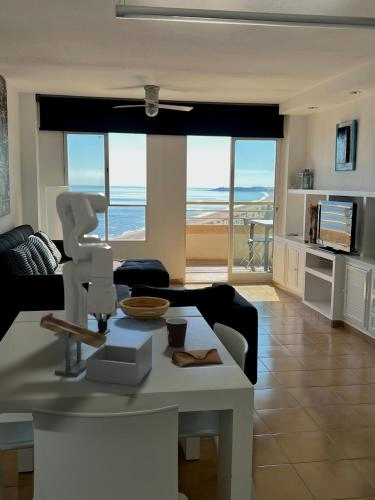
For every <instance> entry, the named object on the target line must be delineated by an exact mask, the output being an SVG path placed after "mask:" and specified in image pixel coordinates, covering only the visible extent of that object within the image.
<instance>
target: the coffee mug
mask: <svg viewBox="0 0 375 500" xmlns="http://www.w3.org/2000/svg"><path fill="white" fill-rule="evenodd" d="M165 325H166V334H167V343H168V346H169V347H170V348H173V347H174V348H175V349H178V348H183V347H185V342H186V336H187V335H186V334H187V329H188V319H186V318H182V317H181V318H180V317H171V318H167V319H166V320H165Z"/></svg>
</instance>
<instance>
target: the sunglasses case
mask: <svg viewBox="0 0 375 500" xmlns="http://www.w3.org/2000/svg"><path fill="white" fill-rule="evenodd" d="M171 361H172V362H173V363H174V364H175V366H177V368H179V369H180V368H186V367H194V366H195V367H197V366H205V365H206V366H207V365H221V364H222V365H223V364H224V362H223V361H222V358H221V356H220V354H219V351H218V349H217V348H211V349H197V350H184V351H182V350H176V351H174V352H172V354H171Z"/></svg>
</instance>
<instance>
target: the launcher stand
mask: <svg viewBox="0 0 375 500" xmlns="http://www.w3.org/2000/svg"><path fill="white" fill-rule="evenodd" d="M78 326H80V327H81V325H78ZM64 341H65V342H64V344H65V345H64V346H65V347H64V353H65V354H64V357H65V358H64V359H65V362H64V363H62V364H61V365H60V366H58V367H57V368H56V369H55V370H54V375H62V376H69V377H78V376H79V375H80V374H81V373H83V372H84V371H86V359H82V342H80V341H77V340H76V358H72V357H71V338H70V332H66V333H65V337H64Z"/></svg>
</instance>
